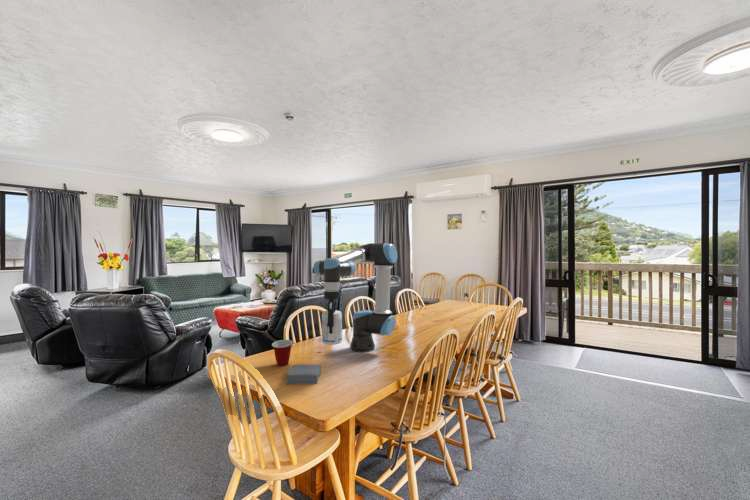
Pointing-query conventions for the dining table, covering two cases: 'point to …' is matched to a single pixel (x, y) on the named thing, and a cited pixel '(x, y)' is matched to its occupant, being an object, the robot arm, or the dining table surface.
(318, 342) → the dining table surface
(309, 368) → the plinth
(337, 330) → the supplement tub
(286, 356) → the plastic cup
